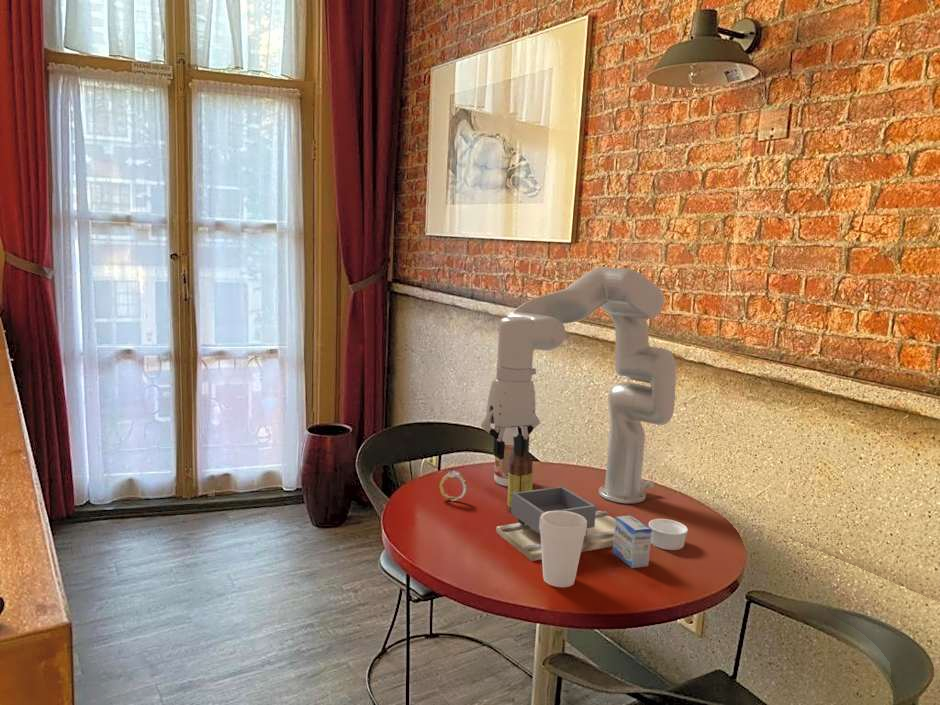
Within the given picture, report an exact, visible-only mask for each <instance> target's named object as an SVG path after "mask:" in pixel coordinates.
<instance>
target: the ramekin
mask: <svg viewBox="0 0 940 705" xmlns="http://www.w3.org/2000/svg"><path fill="white" fill-rule="evenodd" d="M648 527H649V528H650V529H652V535H651V545H653V546H654V547H656V548H658V549H662V550H668V551H677V550H682V548H684V546H685V542H686V537H687V534H688V532H689V529H688V527H687V526H686V525H685V524H683V523H681V522H680V521H679V522H678V521H676V520H673V519H668V518H667V519H666V518H654V519H651V520H650V521H649V522H648Z"/></svg>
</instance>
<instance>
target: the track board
mask: <svg viewBox="0 0 940 705" xmlns="http://www.w3.org/2000/svg"><path fill="white" fill-rule="evenodd" d="M608 514H609V512H608V511H606V510H603V511H602V510H596V514H595V526H594V527H592V528H587V534H586V536H584V540H583V545H582V549H581V553H583V552H588V551H594V550H600V549H605V548H610V547H613V540H614V531H615V521H616V518H614V517H612V516H611V515H608ZM495 533H496V534H497V535H499V536H500V537H501V538H502V539H504V540H505V542H507V543H509V545H511V546H512V547H514V549H516V550H517V551H519V552H520V553H521V555H523V556H524V557H525V558H527V559H528V560H529V561H531V562H533V561H539V560H542V551H541V535H540V534H539V533H537V532H536V531H535V530H533V529H532V528H530V527H529V526H528V525H526V524H520V523H519V522H516V523H511V524H510V523H509V524H504V525H498V526H496V528H495Z"/></svg>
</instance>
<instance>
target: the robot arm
mask: <svg viewBox="0 0 940 705" xmlns="http://www.w3.org/2000/svg"><path fill="white" fill-rule="evenodd" d="M664 304H665V296H664V294H663V291H662V290H661V288H660V287H659V286H658V285H657V284H656V283H654V282H653V281H652V280H650V279H649V278H647V277H646V276H645V275H643V274H641V273H640V272H638V271H637V270H633V269H631V268H630V269H629V268H623V267H621V268H619V267H611V266H610V267H609V266H608V267H607V266H603V267H602V266H601V267H600V266H599V267H595V268H593V269H590V270H589V271H587V272H586V273H585V274H584V275H581V276H580V277H579V278H578V279H576V280H575V281H573V282H572V283H571V284H570V285H568V286H567V287H566V288H564V289H561V290H556V291H553V292H550V293H547V294H544V295H541V296H537V297H535V298H532V299H529V300H528V301H526V302H523V303H522V304H521V305H519V306H518V307H516V308H515V309H514V310H512V311H511V312H510V313H509V314H508V315H507V316H505V317H503V318H502V319H500V322H499V327H498V340H497V341H498V342H497V343H498V344H497V359H496V360H497V362H496V377H495V379H492V381H491V385H490V389H489V392H488V397H487V398H488V399H487V405H486V413H485V418H484V420H483V421H482V423H481V424H480V428H481V429H483V430H484V431H485V432H487V433H488V434H489V435H490V436H491V438H492V439H493V451H492V452H493V456H494V457H495V456H496V457H497V458H499V459H504V448H505V442H504V441H503V436H504V432H505V428H509V427H516V428H517V434H518V435H517V436H516V437H515V445H514V454H516V455H518V456H520V457H524V452H525V443H526V439H528V435H529V434H530V435H531V433H532V432H533V431H534V429H536V428H537V427H538V426H539V425H541V421H540V419H539V418H538V416H537V414H536V391H535V385H534V381H533V380H532V378H533V376H534V375H536V374H537V368H534V367H533V358H534V351H536V350H537V351H552V350H555V349H558V348H559V347H560V346H561V345H562V344H563V342H564V340H565V339H566V338H565V337H566V329H565V325H564V324H572V323H577V322H582V321H584V320H585V319H587V318H588V317H590V316H592V314H593V313H595V312H596V311H597V310H598V309H600V308H602V310H603V311H604V312H605V313H606V314H607V315H608V316H609V317H610V319H611V320H612V322H613V325H614V329H615V330H614V332H615V340H614V341H615V342H614V344H615V346H614V347H615V348H614V351H615V352H614V366H615V367H614V368H615V372H616V374H617V375H618V376H619V377H620V378H623V379H626V380H631V381H636V382H641V383H646V384H650V386H649V385H645V384H640V383H633V382H624V381H623V382H619V383H616V384H614V385H613V386H612V387H611V389H609V390H610V391H609V393H608V410H609V433H608V434H609V435H608V447H607V458H606V470H605V482H604V485H602V486H600V487H599V488H598V494H599V496H600V497H601V498H603V499H605V500H608V501H610V502H614V503H620V504H627V505H628V504H640V503H642V502H643V501H645V500H646V496H647V495H646V493H645V491H644V490H645V489H649V488H653V487H654V486H655V482H654V481H653V480H646V481H645V480H644V478H642V474H643V473H642V472H643V463H644V454H645V452H644V451H645V443H646V442H645V441H646V434H645V429H644V426H643V424H642V423H646V424H652V425H657V426H662V425H663V426H664V425H666V424H668V423H670V421H671V420H672V418H673V415H674V412H675V411H674V410H675V405H676V404H675V403H676V401H675V400H676V386H677V385H676V379H677V378H676V377H677V363H676V359H675V356H674V355H673V353H672V352H671V351H670V350H668V349H667V348H666V349H665V348H662V347H658V346H657V347H656V346H655V347H654V346H651V345H650V343H649V324H648V321H647V320H652V319H655V318H657V317H659V315H660V314H661V313H662V311H663V309H664ZM491 424H493V425H494V426H493V427H492V426H491Z"/></svg>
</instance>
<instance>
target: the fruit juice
mask: <svg viewBox="0 0 940 705" xmlns="http://www.w3.org/2000/svg"><path fill="white" fill-rule="evenodd" d="M515 434H517V428H516V427H509V428H505V432H504V436H503V441H504V442H505V448H504V459H499V458H497V457H496V456H495V455H494V459H495V460H494V470H493V472H494V474H493V479H494V480H493V481H494V483H496V484H498V485H500V486H503V487H508V470H509V459H510V457H511V455H512V454H513V449H514V441H513V436H514V435H515ZM530 435H531V433H530V434H529V444H528V450H529V451H530V442H531V441H530V439H531V438H530V437H531V436H530Z"/></svg>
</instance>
